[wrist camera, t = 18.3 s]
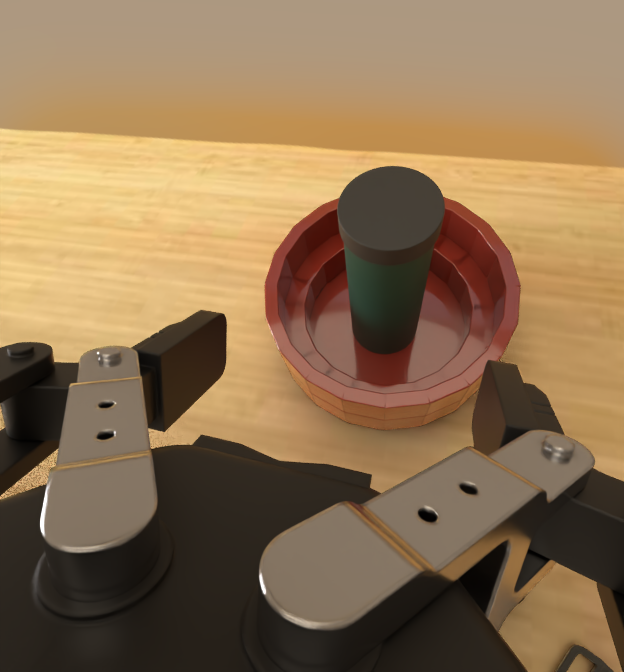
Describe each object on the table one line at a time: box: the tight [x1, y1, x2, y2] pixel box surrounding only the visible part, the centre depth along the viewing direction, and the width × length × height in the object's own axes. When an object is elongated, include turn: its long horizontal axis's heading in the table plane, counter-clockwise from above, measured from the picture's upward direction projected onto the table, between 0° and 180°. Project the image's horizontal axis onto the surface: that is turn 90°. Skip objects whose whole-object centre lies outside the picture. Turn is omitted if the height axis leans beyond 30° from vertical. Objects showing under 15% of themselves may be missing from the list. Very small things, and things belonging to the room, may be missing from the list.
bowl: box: [265, 197, 521, 430], centre depth 29 cm, size 15×15×6 cm
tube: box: [337, 166, 445, 354], centre depth 25 cm, size 5×5×12 cm
